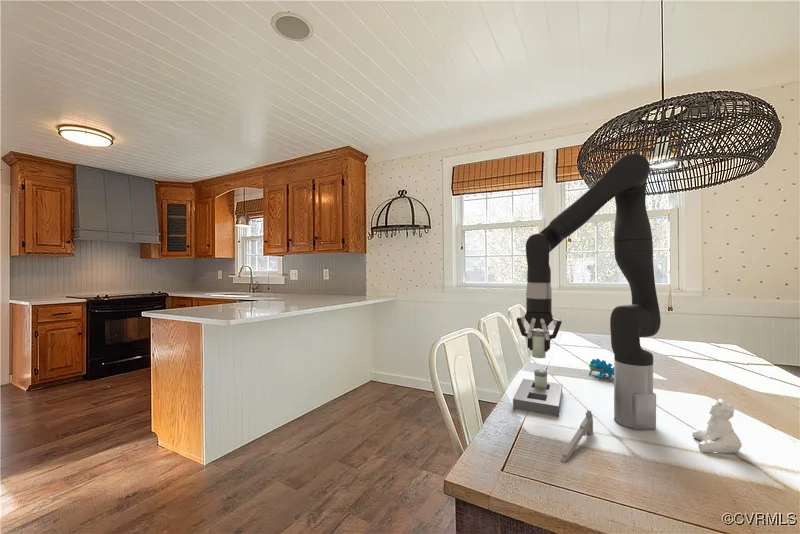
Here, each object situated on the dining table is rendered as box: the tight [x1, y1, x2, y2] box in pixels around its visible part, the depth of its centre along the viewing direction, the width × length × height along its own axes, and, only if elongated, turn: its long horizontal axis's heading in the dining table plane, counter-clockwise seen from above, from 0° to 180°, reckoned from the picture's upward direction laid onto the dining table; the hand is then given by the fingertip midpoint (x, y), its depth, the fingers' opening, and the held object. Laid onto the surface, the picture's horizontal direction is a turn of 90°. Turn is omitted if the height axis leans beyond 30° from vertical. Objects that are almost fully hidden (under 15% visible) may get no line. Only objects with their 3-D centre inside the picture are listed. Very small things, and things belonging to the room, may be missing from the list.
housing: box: [512, 369, 563, 417], centre depth 118 cm, size 22×13×8 cm, turn 153°
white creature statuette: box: [692, 398, 743, 454], centre depth 87 cm, size 10×9×12 cm
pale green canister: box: [531, 329, 547, 359], centre depth 115 cm, size 4×4×8 cm
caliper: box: [560, 410, 594, 463], centre depth 89 cm, size 20×1×6 cm, turn 136°
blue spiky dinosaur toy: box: [588, 358, 614, 379], centre depth 142 cm, size 11×6×10 cm
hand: (538, 350), depth 115 cm, fingers closed on pale green canister, 4 cm apart
